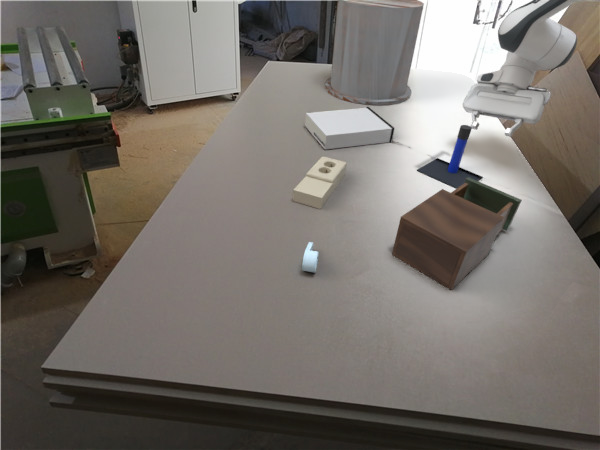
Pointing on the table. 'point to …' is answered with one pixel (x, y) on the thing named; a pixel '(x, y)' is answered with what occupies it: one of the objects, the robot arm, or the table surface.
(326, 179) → the electrical outlet
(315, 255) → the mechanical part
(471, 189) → the drawer
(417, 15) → the storage basket
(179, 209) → the table surface
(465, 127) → the marker
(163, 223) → the table surface
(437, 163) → the mat
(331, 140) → the disc drive
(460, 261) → the cabinet
